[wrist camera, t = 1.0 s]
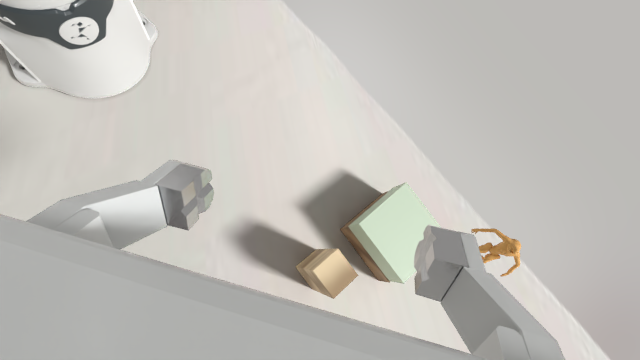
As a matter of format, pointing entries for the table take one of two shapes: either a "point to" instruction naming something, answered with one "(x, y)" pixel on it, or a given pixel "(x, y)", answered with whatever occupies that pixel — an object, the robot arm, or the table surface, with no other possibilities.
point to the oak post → (327, 271)
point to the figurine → (501, 249)
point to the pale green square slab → (394, 231)
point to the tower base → (361, 249)
